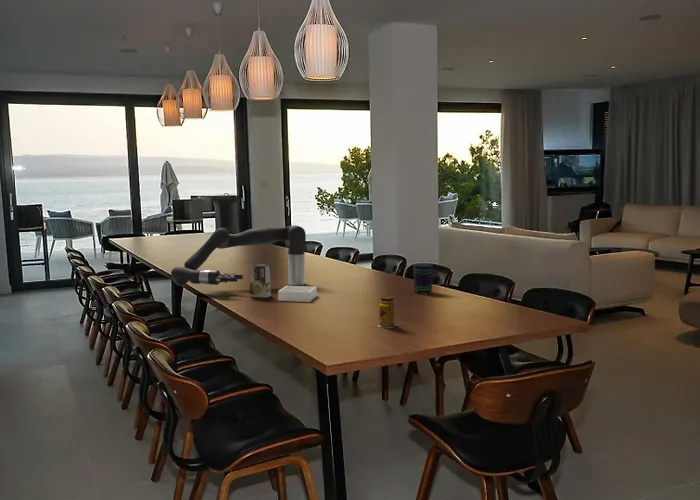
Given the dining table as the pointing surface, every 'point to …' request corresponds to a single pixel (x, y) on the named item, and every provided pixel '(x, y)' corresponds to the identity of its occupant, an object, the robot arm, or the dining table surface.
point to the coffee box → (260, 280)
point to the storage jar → (422, 278)
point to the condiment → (387, 312)
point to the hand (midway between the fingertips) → (240, 278)
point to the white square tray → (297, 293)
